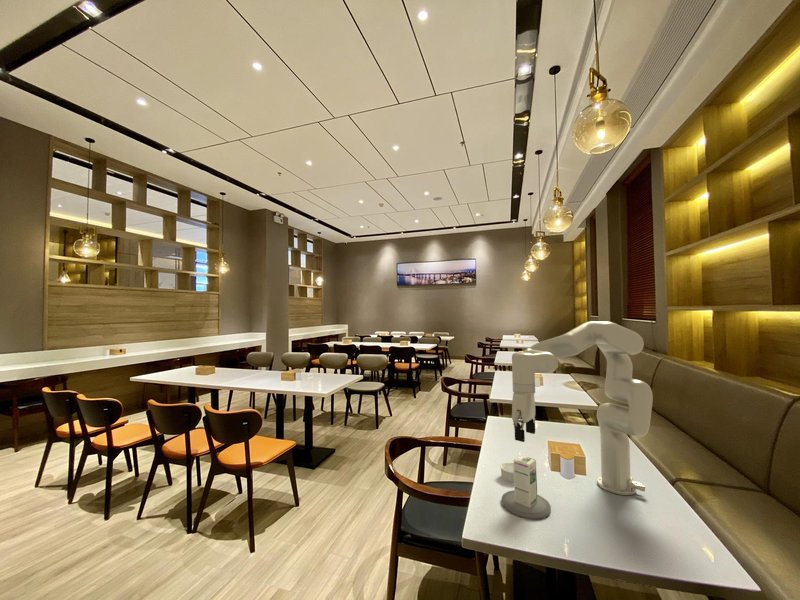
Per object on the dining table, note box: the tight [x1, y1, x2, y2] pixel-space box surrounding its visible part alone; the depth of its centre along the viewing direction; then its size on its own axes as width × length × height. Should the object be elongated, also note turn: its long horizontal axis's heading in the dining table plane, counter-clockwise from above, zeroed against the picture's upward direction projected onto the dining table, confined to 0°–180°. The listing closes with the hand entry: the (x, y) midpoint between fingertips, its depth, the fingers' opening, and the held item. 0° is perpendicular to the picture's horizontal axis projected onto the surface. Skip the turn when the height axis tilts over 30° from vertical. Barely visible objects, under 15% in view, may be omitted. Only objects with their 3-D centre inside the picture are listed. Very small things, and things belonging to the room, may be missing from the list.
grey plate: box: [501, 490, 552, 521], centre depth 115 cm, size 16×16×1 cm
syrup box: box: [513, 455, 538, 508], centre depth 116 cm, size 6×6×14 cm
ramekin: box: [499, 462, 514, 483], centre depth 135 cm, size 9×9×4 cm
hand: (525, 436), depth 116 cm, fingers open, 9 cm apart
